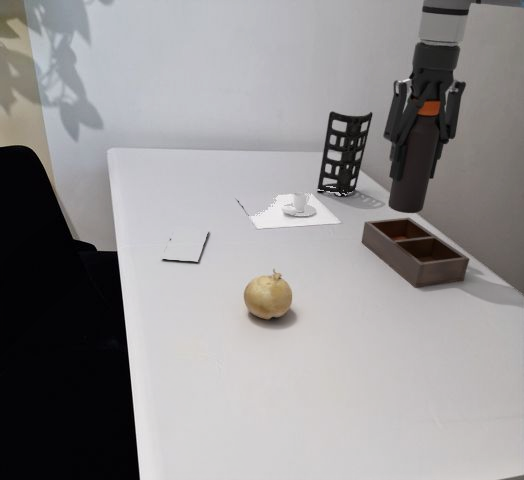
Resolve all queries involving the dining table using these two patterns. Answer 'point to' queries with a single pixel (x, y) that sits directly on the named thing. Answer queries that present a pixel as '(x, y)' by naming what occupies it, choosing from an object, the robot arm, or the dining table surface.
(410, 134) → the dark bottle
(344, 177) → the holder
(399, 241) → the bottle holder
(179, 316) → the dining table surface
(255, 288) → the onion
